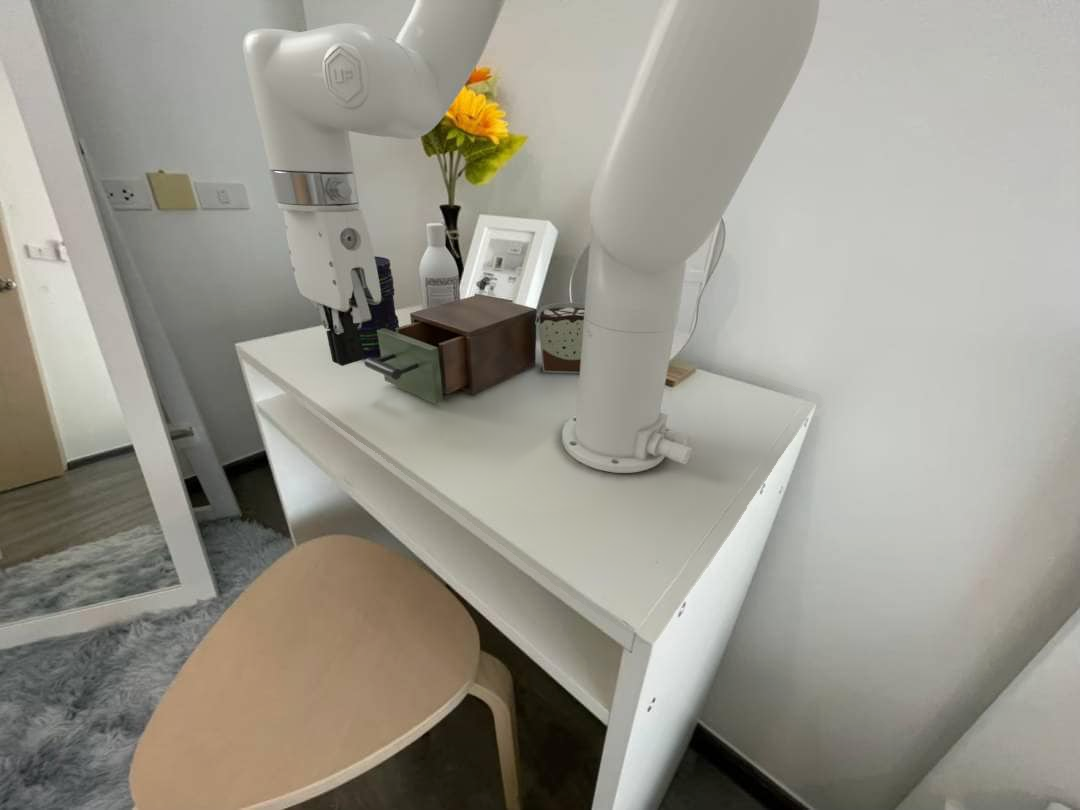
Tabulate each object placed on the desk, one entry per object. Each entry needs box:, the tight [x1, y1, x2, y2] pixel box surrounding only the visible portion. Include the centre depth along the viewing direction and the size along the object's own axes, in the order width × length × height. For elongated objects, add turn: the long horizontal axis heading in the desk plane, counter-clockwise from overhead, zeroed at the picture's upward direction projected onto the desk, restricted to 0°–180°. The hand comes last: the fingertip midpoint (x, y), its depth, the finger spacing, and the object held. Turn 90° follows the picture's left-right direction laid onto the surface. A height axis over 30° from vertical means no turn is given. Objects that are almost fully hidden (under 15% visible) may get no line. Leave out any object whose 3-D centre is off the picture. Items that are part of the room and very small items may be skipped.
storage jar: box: [360, 255, 400, 360], centre depth 74 cm, size 10×10×15 cm
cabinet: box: [409, 294, 538, 396], centre depth 69 cm, size 15×13×10 cm
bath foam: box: [418, 222, 461, 310], centre depth 80 cm, size 7×7×20 cm
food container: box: [535, 302, 585, 375], centre depth 71 cm, size 12×6×10 cm, turn 88°
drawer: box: [364, 321, 469, 405], centre depth 63 cm, size 18×11×8 cm, turn 142°
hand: (348, 360), depth 53 cm, fingers closed
